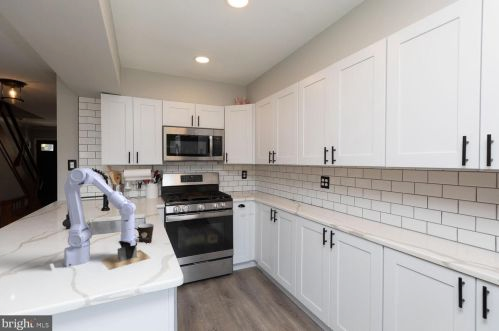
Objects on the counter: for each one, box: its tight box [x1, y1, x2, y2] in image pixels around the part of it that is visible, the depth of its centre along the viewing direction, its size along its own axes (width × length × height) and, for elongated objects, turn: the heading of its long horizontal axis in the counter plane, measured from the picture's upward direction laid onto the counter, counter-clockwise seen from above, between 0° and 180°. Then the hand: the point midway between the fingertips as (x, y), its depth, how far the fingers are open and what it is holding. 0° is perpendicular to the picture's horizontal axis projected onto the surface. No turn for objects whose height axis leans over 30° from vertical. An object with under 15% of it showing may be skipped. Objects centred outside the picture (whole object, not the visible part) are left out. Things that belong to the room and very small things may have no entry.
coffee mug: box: [135, 223, 155, 245], centre depth 137 cm, size 12×9×10 cm
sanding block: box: [117, 246, 138, 262], centre depth 111 cm, size 7×4×5 cm, turn 135°
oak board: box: [100, 249, 152, 271], centre depth 111 cm, size 18×14×1 cm
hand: (127, 256), depth 112 cm, fingers closed on sanding block, 4 cm apart
